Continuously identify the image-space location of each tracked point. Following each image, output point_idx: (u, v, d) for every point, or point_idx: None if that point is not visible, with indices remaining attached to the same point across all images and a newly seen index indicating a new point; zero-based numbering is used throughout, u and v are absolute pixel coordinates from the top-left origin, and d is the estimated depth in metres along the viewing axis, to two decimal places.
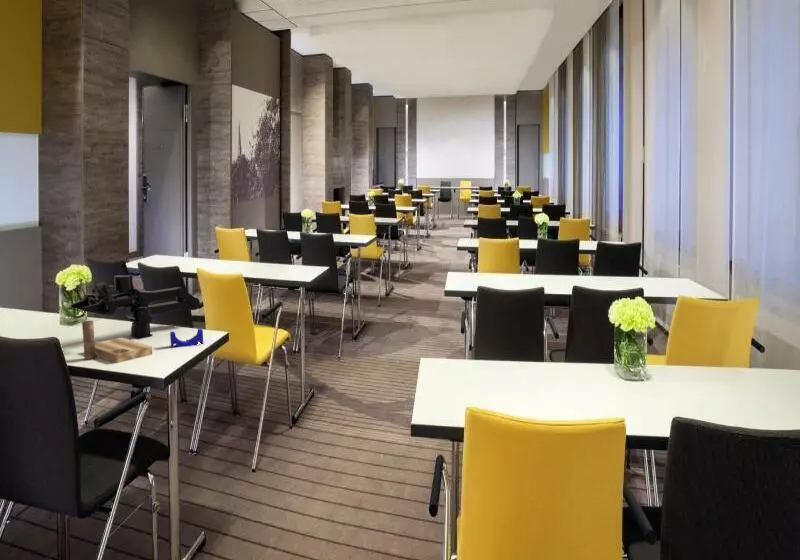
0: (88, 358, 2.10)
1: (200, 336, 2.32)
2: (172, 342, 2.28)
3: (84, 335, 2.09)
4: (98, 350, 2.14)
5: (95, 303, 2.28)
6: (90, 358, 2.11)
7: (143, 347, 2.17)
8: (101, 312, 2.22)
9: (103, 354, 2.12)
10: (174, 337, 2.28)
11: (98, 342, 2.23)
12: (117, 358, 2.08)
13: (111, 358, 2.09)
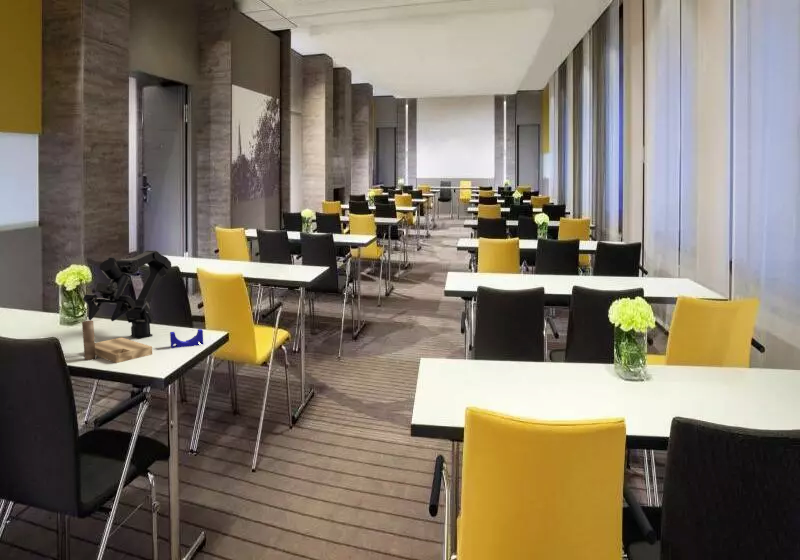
0: (88, 358, 2.10)
1: (200, 336, 2.32)
2: (172, 342, 2.27)
3: (84, 335, 2.09)
4: (98, 350, 2.14)
5: (105, 302, 2.22)
6: (90, 358, 2.11)
7: (143, 347, 2.17)
8: (125, 310, 2.21)
9: (103, 354, 2.12)
10: (174, 337, 2.27)
11: (98, 342, 2.23)
12: (117, 358, 2.08)
13: (111, 358, 2.09)
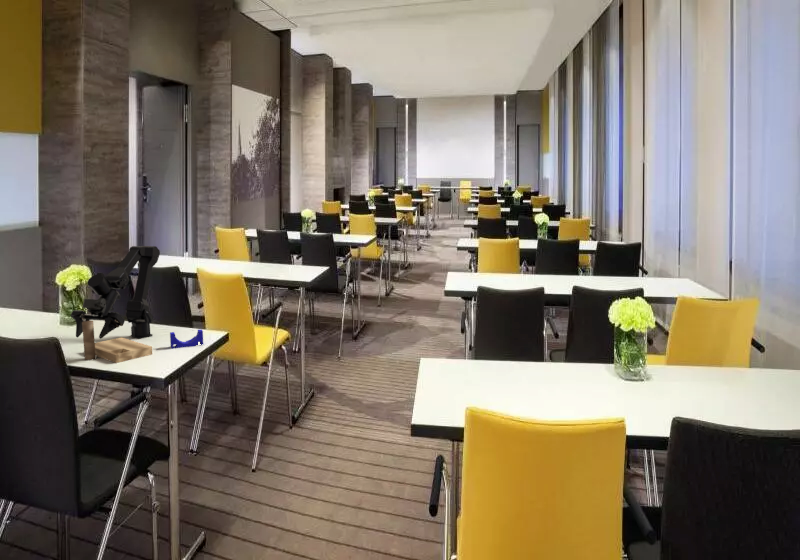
0: (88, 358, 2.10)
1: (200, 336, 2.31)
2: (172, 343, 2.27)
3: (84, 335, 2.09)
4: (98, 350, 2.14)
5: (93, 318, 2.15)
6: (90, 358, 2.11)
7: (143, 347, 2.17)
8: (113, 327, 2.15)
9: (103, 354, 2.12)
10: (174, 338, 2.27)
11: (98, 342, 2.23)
12: (117, 358, 2.08)
13: (111, 358, 2.09)
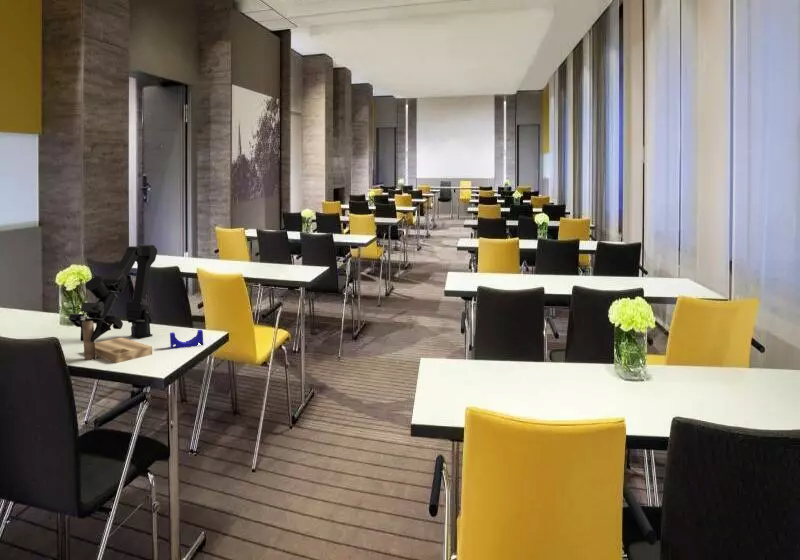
0: (88, 358, 2.10)
1: (200, 336, 2.31)
2: (172, 343, 2.26)
3: (84, 335, 2.09)
4: (98, 350, 2.14)
5: None
6: (90, 358, 2.11)
7: (143, 347, 2.17)
8: (105, 330, 2.14)
9: (103, 354, 2.12)
10: (174, 338, 2.26)
11: (98, 342, 2.23)
12: (117, 358, 2.08)
13: (111, 358, 2.09)
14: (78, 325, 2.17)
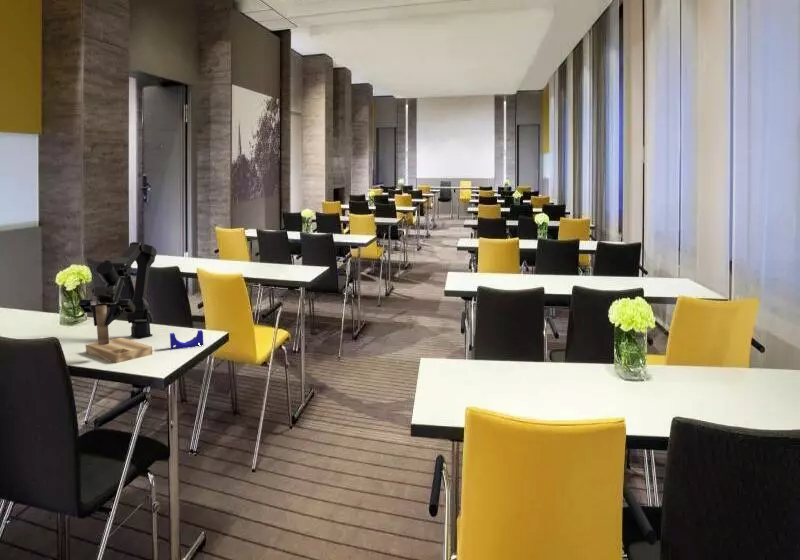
0: (102, 343, 2.09)
1: (200, 337, 2.30)
2: (172, 344, 2.25)
3: (98, 320, 2.08)
4: (98, 350, 2.14)
5: None
6: (104, 343, 2.09)
7: (143, 347, 2.17)
8: (118, 314, 2.14)
9: (103, 354, 2.12)
10: (174, 339, 2.25)
11: None
12: (117, 358, 2.08)
13: (111, 358, 2.09)
14: (86, 311, 2.15)
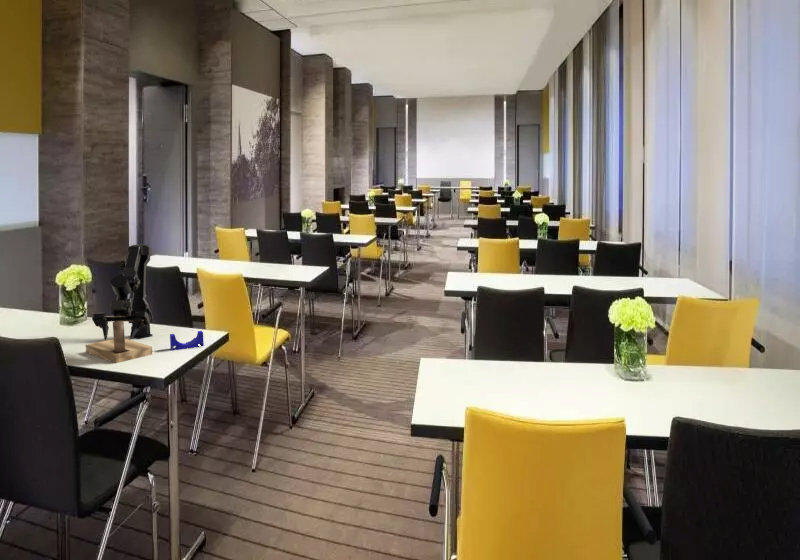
0: None
1: (201, 338, 2.29)
2: (172, 344, 2.24)
3: (116, 335, 2.09)
4: (98, 350, 2.14)
5: (117, 320, 2.14)
6: None
7: (143, 347, 2.17)
8: (139, 327, 2.16)
9: (103, 354, 2.12)
10: (174, 339, 2.24)
11: (98, 342, 2.23)
12: (117, 358, 2.08)
13: (111, 358, 2.09)
14: (98, 325, 2.14)
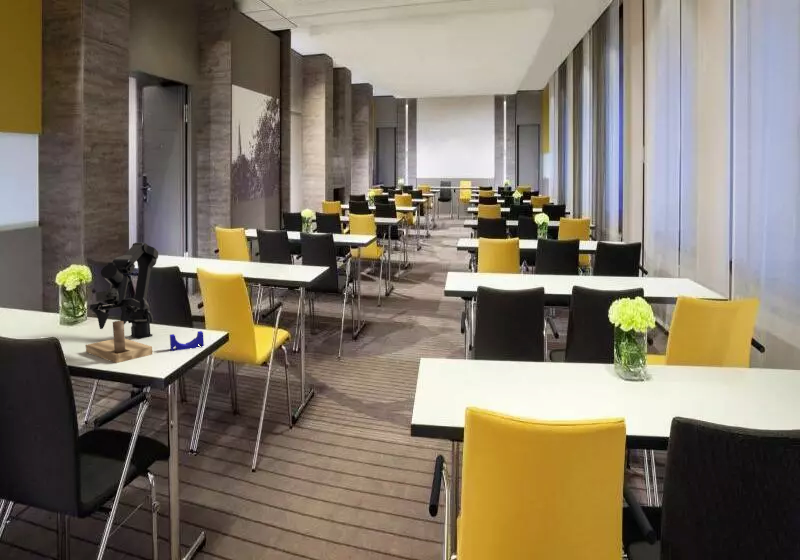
0: None
1: (201, 338, 2.29)
2: (172, 345, 2.23)
3: (116, 335, 2.09)
4: (98, 350, 2.14)
5: (111, 308, 2.19)
6: None
7: (143, 347, 2.17)
8: (132, 312, 2.18)
9: (103, 354, 2.12)
10: (174, 340, 2.24)
11: (98, 342, 2.23)
12: (117, 358, 2.08)
13: (111, 358, 2.09)
14: None
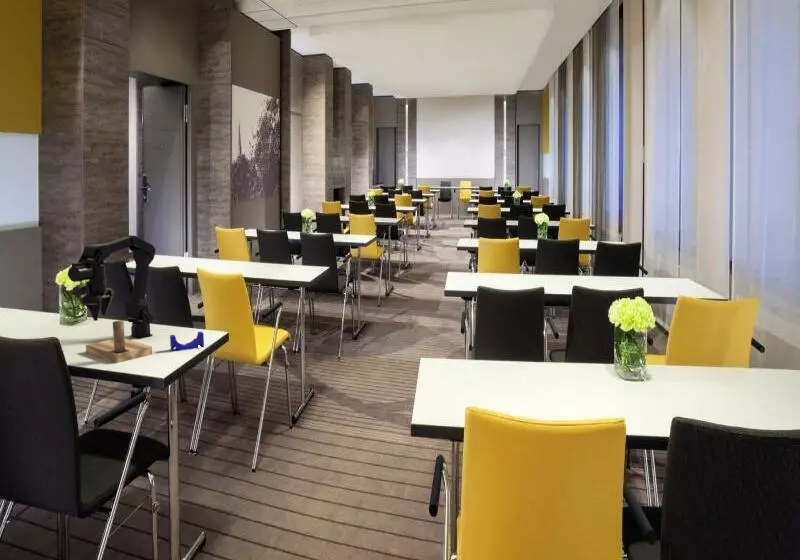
0: None
1: (201, 339, 2.28)
2: (172, 345, 2.23)
3: (116, 335, 2.09)
4: (98, 350, 2.14)
5: None
6: None
7: (143, 347, 2.17)
8: (98, 306, 2.16)
9: (103, 354, 2.12)
10: (174, 340, 2.23)
11: (98, 342, 2.23)
12: (117, 358, 2.08)
13: (111, 358, 2.09)
14: None
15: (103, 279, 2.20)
